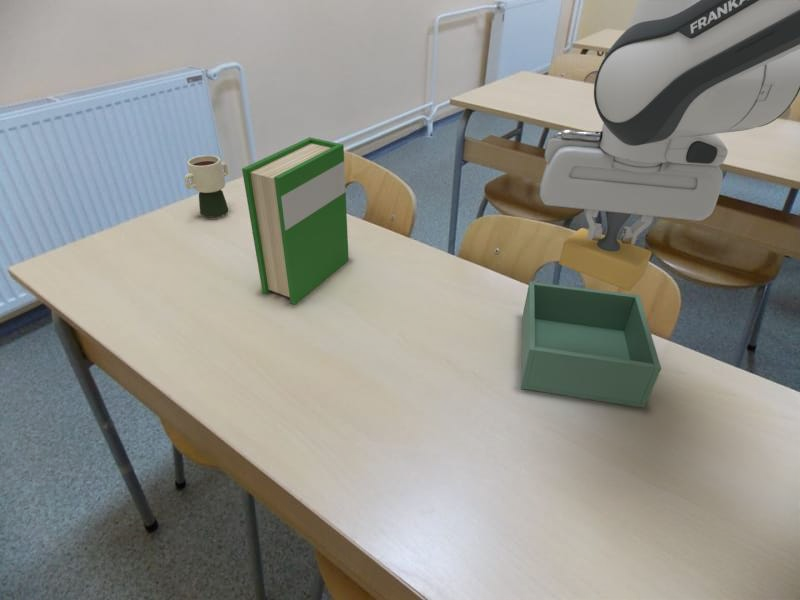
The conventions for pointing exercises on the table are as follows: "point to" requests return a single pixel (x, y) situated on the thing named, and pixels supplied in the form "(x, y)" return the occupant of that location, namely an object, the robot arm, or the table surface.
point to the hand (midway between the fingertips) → (610, 240)
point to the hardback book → (298, 216)
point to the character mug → (208, 183)
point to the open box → (587, 345)
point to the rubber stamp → (606, 255)
